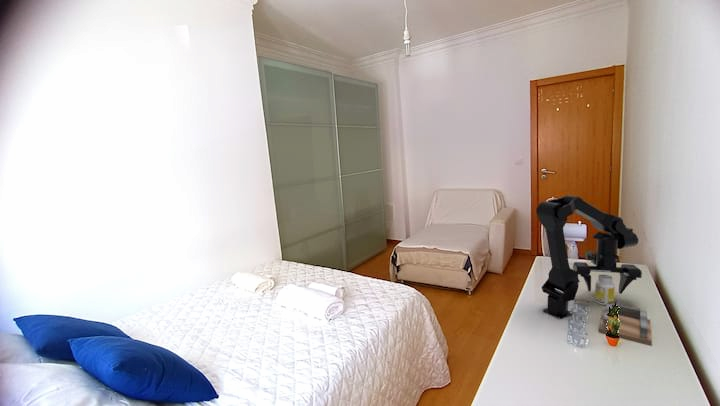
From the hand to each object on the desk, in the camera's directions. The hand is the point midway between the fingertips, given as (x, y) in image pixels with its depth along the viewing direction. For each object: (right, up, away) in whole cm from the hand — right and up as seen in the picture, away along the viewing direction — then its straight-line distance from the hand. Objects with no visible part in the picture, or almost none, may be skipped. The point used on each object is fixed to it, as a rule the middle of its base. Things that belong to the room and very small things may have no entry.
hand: (604, 292), depth 114 cm
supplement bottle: (0, -4, +1) cm, 4 cm away
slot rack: (-5, -7, -15) cm, 17 cm away
